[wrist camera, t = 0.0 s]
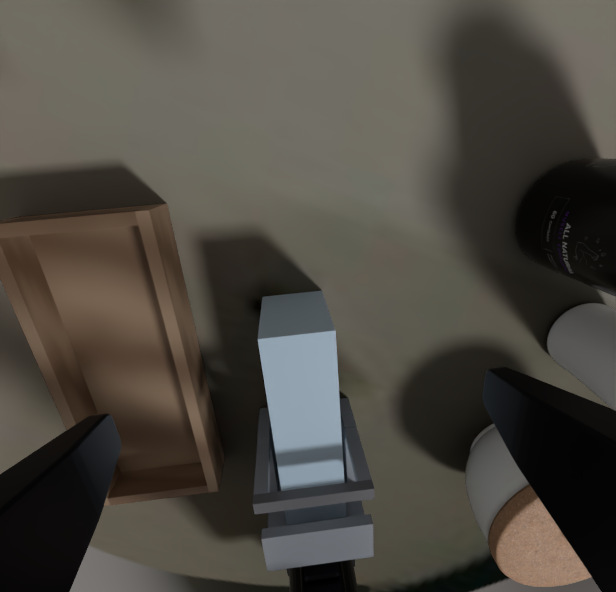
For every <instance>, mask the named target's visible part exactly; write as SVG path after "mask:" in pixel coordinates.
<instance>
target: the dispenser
mask: <svg viewBox="0 0 616 592" xmlns="http://www.w3.org/2000/svg"><path fill="white" fill-rule="evenodd" d="M340 415H341V432H342V449H343V466H344V483H340V484H332V485H325V486H317V487H309V488H301V489H294V490H286V491H281V486H280V479H279V473H278V467H277V460H276V454H275V447H274V441H273V435H272V428H271V422H270V416H269V409H268V407H265V408H260V410H259V423H258V436H257V439H258V440H257V453H256V466H255V479H254V493H253V509H254V514H263V513H268V528H264V529H262V535H261V540H262V545H263V550H264V555H265V560H266V565H267V570H268V571H274V570H281V569H288V568H295V567H302V566H309V565H317V564H324V563H331V562H338V561H345V560H352V559H360V558H367V557H373V522H372V518H371V514H369V515H364V511H363V507H362V502H361V500H369V499H374V486H373V483H372V479H371V476H370V472H369V469H368V465H367V462H366V459H365V455H364V452H363V448H362V445H361V441H360V438H359V435H358V431H357V428H356V423H355V420H354V417H353V413H352V410H351V406H350V403H349V399H348V398H342V399H340ZM338 503H346V517H342V518H335V519H328V520H320V521H313V522H306V523H298V524H291V525H287V524H286V518H285V510H293V509H301V508H308V507H316V506H323V505H331V504H338Z"/></svg>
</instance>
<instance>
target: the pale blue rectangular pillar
mask: <svg viewBox="0 0 616 592" xmlns="http://www.w3.org/2000/svg"><path fill="white" fill-rule="evenodd" d="M258 345H259V352H260V358H261V364H262V371H263V377H264V384H265V390H266V396H267V403H268V409H269V416H270V422H271V428H272V435H273V441H274V447H275V454H276V460H277V467H278V473H279V479H280V486H281V491H286V490H294V489H301V488H309V487H317V486H325V485H332V484H340V483H344V466H343V449H342V432H341V415H340V398H339V382H338V365H337V348H336V331H335V328H334V325H333V322H332V319H331V316H330V313H329V310H328V307H327V304H326V301H325V298H324V295H323V292H322V291H313V292H303V293H294V294H284V295H275V296H265V297H262V305H261V314H260V322H259V331H258ZM342 517H346V503H338V504H331V505H323V506H316V507H308V508H301V509H293V510H285V518H286V524H287V525H291V524H298V523H306V522H313V521H320V520H328V519H335V518H342Z"/></svg>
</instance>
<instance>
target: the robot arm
mask: <svg viewBox="0 0 616 592" xmlns="http://www.w3.org/2000/svg"><path fill="white" fill-rule="evenodd" d="M483 403H484V406H485V408H486V410H487V412H488V413H489V415H490V417H491V419H492V421H493V423H494V425H495V426H496V428H497V430H498V432H499V434H500V436H501V437H502V439H503V441H504V443H505V445H506V447H507V449H508V450H509V452H510V454H511V456H512V458H513V459H514V461H515V463H516V464H517V466H518V468H519V469H520V471H521V472H522V474H523V475H524V477H525V478H526V480H527V481H528V483H529V484H530V486H531V487H532V489H533V490H534V492H535V493H536V495H537V496H538V498H539V499H540V501H541V502H542V504H543V505H544V507H545V508H546V510H547V511H548V512H549V514H550V515H551V517H552V518H553V520H554V521H555V523H556V524H557V526H558V527H559V529H560V530H561V532H562V533H563V535H564V536H565V538H566V539H567V541H568V542H569V544H570V545H571V547H572V548H573V550H574V551H575V553H576V554H577V556H578V557H579V559H580V560H581V562H582V563H583V565H584V566H585V568H586V569H587V571H588V572H589V574H590V575H591V576H592V578H593V579H594V581H595V582H596V584H597V585H598V587H599V588H600V590H601V591H602V592H616V411H615V410H613V409H610V408H608V407H605V406H603V405H600V404H598V403H595V402H593V401H590V400H588V399H585V398H583V397H580V396H578V395H575V394H573V393H570V392H568V391H565V390H562V389H560V388H557V387H555V386H552V385H550V384H547V383H545V382H542V381H540V380H537V379H535V378H532V377H530V376H527V375H525V374H522V373H520V372H517V371H515V370H512V369H510V368H507V367H497V368H490V369H488V370H487V371H486V374H485V381H484V388H483ZM120 451H121V439H120V436H119V433H118V431H117V428H116V425H115V423H114V420H113V418H112V416H111V415H110V414H108V413H103V414H94V415H90V416H88V417H86V418H85V419H83V420H82V421H80V422H79V423H77V424H76V425H74V426H73V427H71V428H70V429H68V430H67V431H65V432H64V433H62V434H61V435H59V436H58V437H56V438H55V439H53V440H52V441H50V442H49V443H47V444H45V445H44V446H42V447H41V448H39V449H38V450H36V451H35V452H33V453H32V454H30V455H29V456H27V457H26V458H24V459H23V460H21V461H20V462H18V463H17V464H15V465H14V466H12V467H11V468H9V469H8V470H6V471H5V472H3V473H2V474H0V592H69V591H70V589H71V586H72V584H73V582H74V579H75V577H76V574H77V572H78V570H79V567H80V565H81V562H82V560H83V557H84V555H85V553H86V550H87V548H88V546H89V543H90V541H91V538H92V536H93V533H94V531H95V529H96V526H97V523H98V521H99V518H100V515H101V512H102V509H103V507H104V503H105V500H106V497H107V493H108V490H109V487H110V484H111V480H112V477H113V474H114V471H115V467H116V464H117V461H118V458H119V454H120ZM354 566H355V559H352V560H345V561H338V562H331V563H324V564H317V565H309V566H302V567H295V568H288V569H287V573H288V576H289V577H290V592H358V589H357V583H356V577H355V572H354Z"/></svg>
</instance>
